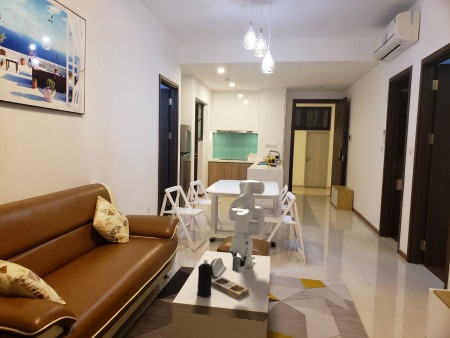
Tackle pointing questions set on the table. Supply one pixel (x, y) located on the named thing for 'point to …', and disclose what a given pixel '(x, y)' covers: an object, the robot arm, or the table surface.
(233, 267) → the grey rectangular block
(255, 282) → the table surface
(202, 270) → the aerosol can
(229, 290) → the wooden slotted tray
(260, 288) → the table surface
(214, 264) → the gray curved box
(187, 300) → the table surface
